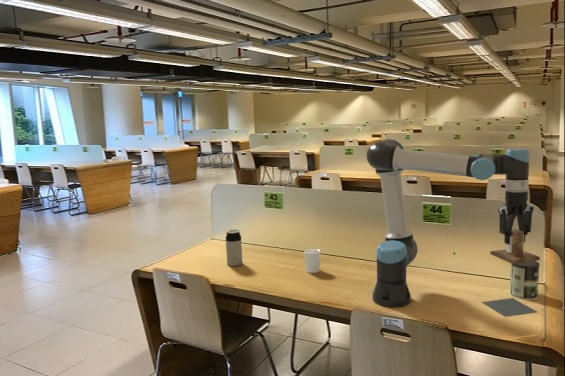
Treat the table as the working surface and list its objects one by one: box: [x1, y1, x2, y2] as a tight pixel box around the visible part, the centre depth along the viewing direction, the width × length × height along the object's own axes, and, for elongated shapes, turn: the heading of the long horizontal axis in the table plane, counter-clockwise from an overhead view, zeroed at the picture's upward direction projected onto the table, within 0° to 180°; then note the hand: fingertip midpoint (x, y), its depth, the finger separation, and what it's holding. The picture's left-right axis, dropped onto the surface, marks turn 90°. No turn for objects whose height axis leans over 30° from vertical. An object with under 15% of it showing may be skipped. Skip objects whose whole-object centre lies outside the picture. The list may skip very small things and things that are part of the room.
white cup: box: [303, 248, 321, 274], centre depth 227 cm, size 8×8×10 cm
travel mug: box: [225, 228, 243, 267], centre depth 241 cm, size 8×8×18 cm
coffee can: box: [509, 260, 540, 301], centre depth 187 cm, size 10×10×14 cm
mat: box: [481, 297, 538, 318], centre depth 177 cm, size 14×14×1 cm
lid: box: [489, 228, 541, 264], centre depth 175 cm, size 12×12×10 cm
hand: (514, 251), depth 175 cm, fingers closed on lid, 4 cm apart
